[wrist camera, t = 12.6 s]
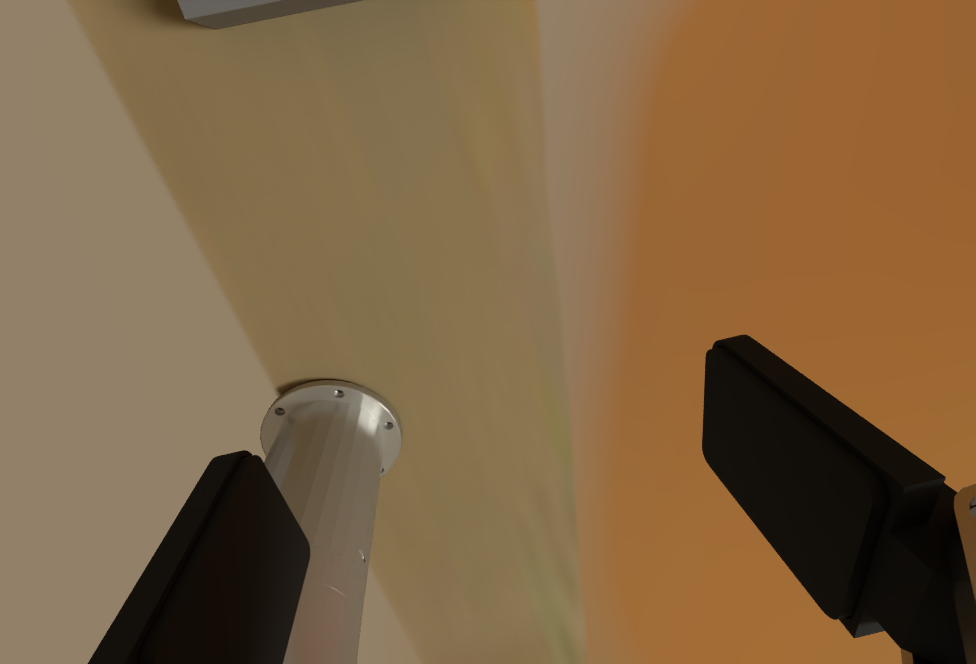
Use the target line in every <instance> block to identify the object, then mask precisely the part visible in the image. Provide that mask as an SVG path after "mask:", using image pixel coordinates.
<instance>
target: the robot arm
mask: <svg viewBox="0 0 976 664" xmlns="http://www.w3.org/2000/svg"><path fill="white" fill-rule="evenodd" d="M260 439H261V444H262V448H263V451H264V453H265V455H266V459H265V462H263V461H262V459H261V458H260V457H259V456H257V455H253V456H252V454H251V453H250V452H248V451H244V450H243V451H239V452H234V453H230V454H226V455H221V456H217V457H215V458H213V459H212V460H211V462H210V463H209V465H208V466H207V468H206V470H205V471H204V473H203V475H202V477H201V478H200V480H199V481H198V483H197V485H196V486H195V488H194V489H193V491H192V493H191V494H190V496H189V498H188V499H187V501H186V503H185V504H184V506H183V508H182V509H181V511H180V512H179V514H178V516H177V517H176V519H175V521H174V522H173V524H172V526H171V527H170V529H169V531H168V532H167V534H166V536H165V537H164V539H163V541H162V542H161V544H160V546H159V547H158V549H157V551H156V552H155V554H154V556H153V557H152V559H151V560H150V562H149V564H148V565H147V567H146V568H145V570H144V572H143V574H142V575H141V577H140V578H139V580H138V582H137V583H136V585H135V587H134V588H133V590H132V592H131V593H130V595H129V597H128V599H127V600H126V601H125V603H124V605H123V606H122V608H121V610H120V611H119V613H118V615H117V616H116V618H115V620H114V621H113V623H112V624H111V626H110V628H109V629H108V631H107V633H106V635H105V636H104V638H103V640H102V641H101V643H100V644H99V646H98V648H97V649H96V651H95V652H94V654H93V656H92V658H91V659H90V661H89V662H88V664H357V656H358V647H359V637H360V628H361V620H362V612H363V604H364V596H365V589H366V582H367V574H368V566H369V559H370V551H371V543H372V536H373V528H374V520H375V513H376V505H377V497H378V490H379V482H380V477H382V476H383V475H384V474H385V473H386V472H387V471H388V470H389V469H390V468H391V467H392V466H393V464H394V463H395V461H396V460H397V457H398V455H399V452H400V448H401V427H400V423H399V420H398V418H397V416H396V414H395V412H394V410H393V409H392V408H391V407H390V406H389V405H388V403H387V402H386V401H385V400H383V399H382V398H381V397H380V396H378V395H377V394H376V393H374V392H372V391H370V390H368V389H366V388H364V387H362V386H359V385H356V384H353V383H349V382H343V381H335V380H322V381H314V382H309V383H305V384H302V385H298V386H296V387H294V388H292V389H290V390H288V391H286V392H285V393H284V394H282V395H281V396H280V397H279V398H277V399H276V401H275V402H274V403H273V404H272V405H271V407H270V408H269V410H268V412H267V414H266V416H265V417H264V420H263V423H262V426H261V437H260ZM702 450H703V454H704V457H705V460H706V462H707V463H708V464H709V466H710V467H711V469H712V470H713V471H714V472H715V474H716V475H717V476H718V478H719V479H720V480H721V482H722V483H723V484H724V485H725V487H726V488H727V489H728V491H729V492H730V493H731V494H732V496H733V497H734V498H735V499H736V501H737V502H738V503H739V505H740V506H741V507H742V508H743V510H744V511H745V512H746V514H747V515H748V516H749V517H750V519H751V520H752V521H753V522H754V524H755V525H756V526H757V528H758V529H759V530H760V531H761V533H762V534H763V535H764V537H765V538H766V539H767V540H768V542H769V543H770V544H771V546H772V547H773V548H774V549H775V551H776V552H777V553H778V555H779V556H780V557H781V558H782V560H783V561H784V562H785V563H786V565H787V566H788V567H789V569H790V570H791V571H792V572H793V574H794V575H795V576H796V578H797V579H798V580H799V581H800V582H801V584H802V585H803V586H804V588H805V589H806V590H807V592H808V593H809V594H810V596H811V597H812V598H813V599H814V600H815V602H816V603H817V604H818V606H819V607H820V608H821V609H822V611H823V612H824V613H825V614H826V615H828V616H829V617H830V618H832V619H834V620H836V619H839V620H840V621H841V622H842V624H843V625H844V626H845V628H846V629H847V630H848V631H849V633H850V634H851V635H852V636H853V638H858V637H861V636H865V635H870V634H874V633H878V632H882V631H886V632H887V633H888V634H889V636H890V637H891V638H892V639H893V640H894V641H895V642H896V644H897V645H899V647H900V648H901V657H902V664H976V484H973V485H971V486H968V487H965V488H962V489H961V490H960V491H959V492H958V493H957V492H956V491H954V490H953V489H952V488H950V487H949V486H947V485H946V484H945V483H944V481H945V478H946V477H945V476H943V475H942V474H941V473H939V472H938V471H936V470H935V469H934V468H932V467H931V466H929V465H928V464H927V463H925V462H924V461H922V460H921V459H920V458H918V457H917V456H916V455H914V454H913V453H911V452H910V451H909V450H907V449H906V448H904V447H903V446H902V445H900V444H899V443H898V442H896V441H895V440H893V439H892V438H891V437H889V436H888V435H886V434H885V433H884V432H882V431H881V430H879V429H878V428H876V427H875V426H874V425H872V424H871V423H870V422H868V421H867V420H865V419H864V418H863V417H861V416H859V415H858V414H857V413H856V412H854V411H853V410H852V409H850V408H849V407H847V406H846V405H844V404H843V403H842V402H840V401H839V400H837V399H836V398H835V397H833V396H832V395H831V394H829V393H828V392H826V391H825V390H824V389H822V388H821V387H819V386H818V385H817V384H815V383H814V382H813V381H811V380H810V379H808V378H807V377H806V376H804V375H803V374H801V373H800V372H799V371H797V370H796V369H794V368H793V367H792V366H790V365H789V364H787V363H786V362H785V361H783V360H782V359H780V358H779V357H778V356H776V355H775V354H774V353H772V352H771V351H769V350H768V349H767V348H765V347H764V346H762V345H761V344H760V343H758V342H757V341H755V340H754V339H753V338H751V337H750V336H748V335H739V336H735V337H731V338H726V339H722V340H718V341H716V342H715V343H714V345H713V348H712V349H710V350H708V351H707V353H706V363H705V388H704V414H703V438H702Z"/></svg>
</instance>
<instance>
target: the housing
mask: <svg viewBox="0 0 976 664" xmlns="http://www.w3.org/2000/svg"><path fill="white" fill-rule="evenodd" d="M177 1H178V3H179V6H180V8H181V11H182V13H183V15H184V18H185V20H188V21H191V22H194V23H197V24H200V25H204V26H207V27H210V28H213V29H221V28H226V27H231V26H236V25H241V24H246V23H251V22H256V21H261V20H266V19H271V18H276V17H281V16H286V15H291V14H296V13H301V12H306V11H311V10H316V9H321V8H326V7H331V6H336V5H341V4H346V3H351V2H356V1H361V0H177Z"/></svg>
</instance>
